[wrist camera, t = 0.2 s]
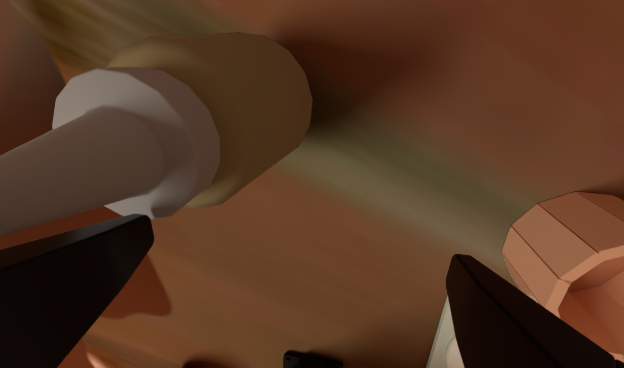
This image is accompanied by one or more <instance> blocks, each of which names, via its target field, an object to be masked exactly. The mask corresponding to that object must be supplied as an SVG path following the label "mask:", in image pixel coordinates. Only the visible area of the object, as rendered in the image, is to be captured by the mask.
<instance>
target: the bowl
mask: <svg viewBox="0 0 624 368" xmlns="http://www.w3.org/2000/svg"><path fill="white" fill-rule="evenodd" d="M512 226H513V227H512ZM512 226H511V227H510V230H509V233H508V235H507V238H506V241H505V244H504V246H503V249H502V254H503V257H504V260H505V263H506V266H507V269H508V271H509V274H510V276H511V277H512V279H513V280H514V281H515V283H516V284H517V286H518V287H519V289H520V290H521V291H522V292H523V293H525V294H526V295H527V296H529V297H530V298H532V299H533V300H535V301H536V302H537V303H539V304H540V305H542V306H543V307H545V308H546V309H547V310H549V311H550V312H552V313H553V314H554V315H556V316H557V317H559V318H560V319H562V320H563V321H564V322H566V323H567V324H569V325H570V326H572V327H573V328H574V329H576V330H577V331H579V332H580V333H582V334H583V335H584V336H586V337H587V338H589V339H590V340H592V341H593V342H594V343H596V344H597V345H599V346H600V347H601V348H603V349H604V350H606V351H607V352H609V353H610V354H611V355H613V356H614V358H615V360H616V359H618V360H620V361H622V362H624V201H623V200H622V199H620V198H618V197H616V196H613V195H606V194H595V193H585V192H573V193H569V194H566V195H563V196H560V197H556V198H553V199H550V200H547V201H544V202H540V203H539V205H538V204H536V205H535V206H534V207H533V208H532V209H530V210H529V211H528V212H527V213H526V214H524V215H523V216H522V217H521V218H520V219H518V220H517V221H516V222H515V223H514V224H513V225H512Z"/></svg>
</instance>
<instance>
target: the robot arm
mask: <svg viewBox="0 0 624 368" xmlns="http://www.w3.org/2000/svg"><path fill="white" fill-rule="evenodd" d="M153 242H154V234H153V229H152V224H151V220H150V218H149V216H147V215H144V214H131V215H127V216H123V217H119V218H116V219H112V220H109V221H105V222H101V223H98V224H94V225H90V226H86V227H83V228H79V229H75V230H71V231H68V232H64V233H60V234H56V235H53V236H49V237H45V238H42V239H38V240H34V241H30V242H27V243H23V244H19V245H16V246H12V247H8V248H5V249H1V250H0V368H57V367H58V366H59V365H60V364H61V362H62V361H63V360H64V358H65V357H66V356H67V355H68V354H69V353H70V351H71V350H72V349H73V348H74V347H75V345H76V344H77V343H78V342H79V340H80V339H81V338H82V337H83V336H84V334H85V333H86V332H87V331H88V330H89V328H90V327H91V326H92V325H93V324H94V322H95V321H96V320H97V319H98V318H99V316H100V315H101V314H102V313H103V311H104V310H105V309H106V308H107V307H108V305H109V304H110V303H111V302H112V301H113V299H114V298H115V297H116V296H117V294H118V293H119V292H120V291H121V290H122V288H123V287H124V285H125V284H126V283H127V282H128V280H129V278H130V277H131V276H132V274H133V273H134V271H135V270H136V269H137V267H138V266H139V264H140V263H141V261H142V260H143V258H144V257H145V255H146V254H147V252H148V251H149V250H150V248H151V247H152V245H153ZM446 289H447V294H448V300H449V305H450V311H451V316H452V322H453V327H454V332H455V337H456V341H457V345H458V348H459V352H460V355H461V358H462V362H463V365H464V368H624V363H623V362H622V361H620V360H618V359H616V360H615V358H614V356H613V355H611V354H610V353H609V352H607V351H606V350H604V349H603V348H601V347H600V346H599V345H597V344H596V343H594V342H593V341H592V340H590V339H589V338H587V337H586V336H584V335H583V334H582V333H580V332H579V331H577V330H576V329H574V328H573V327H572V326H570V325H569V324H567V323H566V322H564V321H563V320H562V319H560V318H559V317H557V316H556V315H554V314H553V313H552V312H550V311H549V310H547V309H546V308H545V307H543V306H542V305H540V304H539V303H537V302H536V301H535V300H533V299H532V298H530V297H529V296H527V295H526V294H525V293H523V292H522V291H520V290H519V289H517V288H516V287H515V286H513V285H512V284H510V283H509V282H507V281H506V280H505V279H503V278H502V277H500V276H499V275H498V274H496V273H495V272H493V271H492V270H490V269H489V268H488V267H486V266H485V265H483V264H482V263H480V262H479V261H478V260H476V259H475V258H473V257H472V256H469V255H462V254H455V255H453V257H452V259H451V263H450V266H449V270H448V273H447V277H446ZM283 368H343V364H342V363H341V362H338V361H333V360H327V359H322V358H317V357H311V356H306V355H301V354H295V353H290V352H286V353H285V354H284V357H283Z"/></svg>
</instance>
